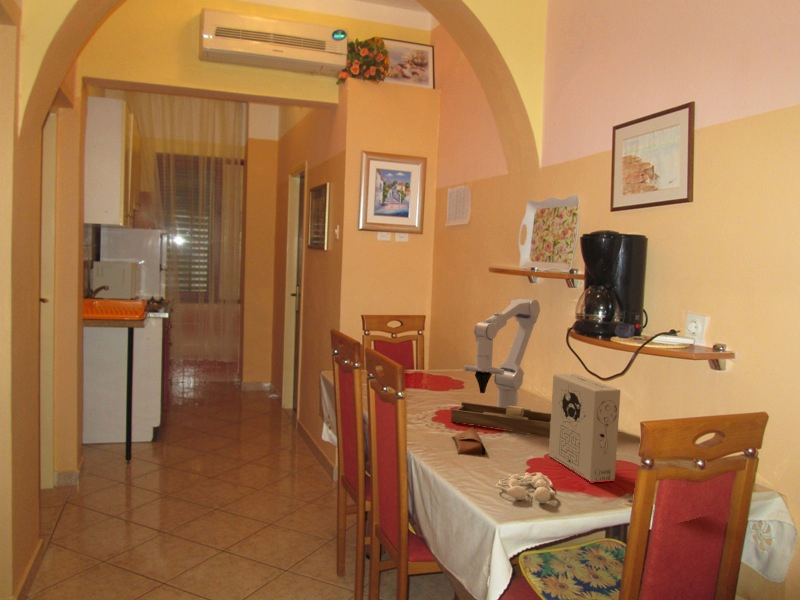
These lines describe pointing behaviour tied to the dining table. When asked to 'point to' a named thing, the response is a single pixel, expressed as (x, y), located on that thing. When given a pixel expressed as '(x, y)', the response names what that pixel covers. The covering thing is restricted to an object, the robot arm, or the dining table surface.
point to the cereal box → (584, 426)
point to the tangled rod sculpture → (537, 482)
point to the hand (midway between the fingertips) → (482, 392)
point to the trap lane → (502, 418)
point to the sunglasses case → (469, 443)
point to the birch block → (515, 411)
